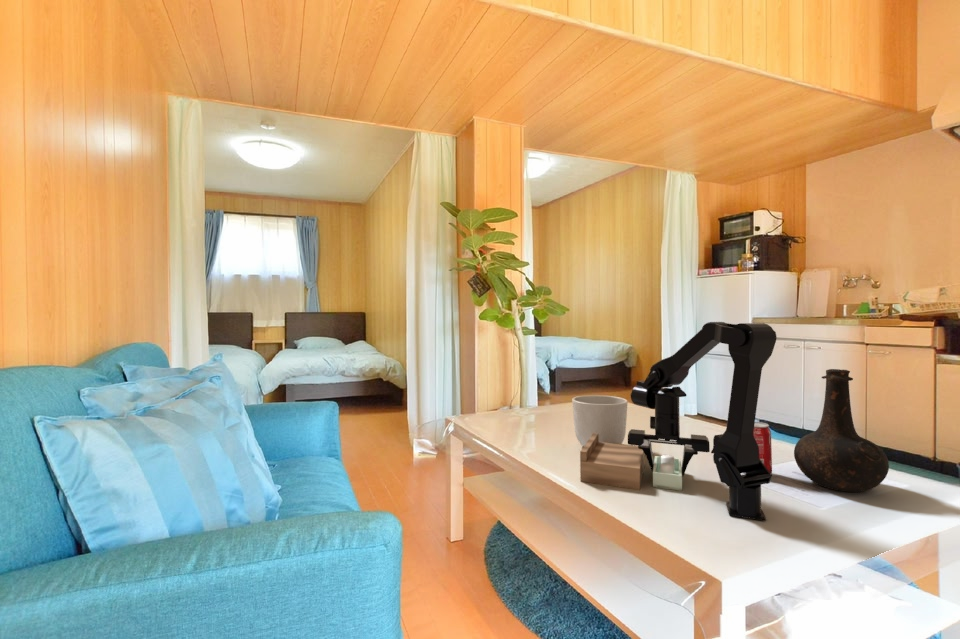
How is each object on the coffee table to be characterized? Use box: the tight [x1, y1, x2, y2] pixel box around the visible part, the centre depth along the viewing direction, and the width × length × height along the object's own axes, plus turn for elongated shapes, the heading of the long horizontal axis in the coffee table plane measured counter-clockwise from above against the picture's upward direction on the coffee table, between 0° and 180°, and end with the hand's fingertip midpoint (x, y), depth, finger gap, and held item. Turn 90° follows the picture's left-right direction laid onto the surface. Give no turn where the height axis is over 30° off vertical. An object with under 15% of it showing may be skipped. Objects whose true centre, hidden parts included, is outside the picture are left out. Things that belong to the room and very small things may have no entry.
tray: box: [652, 454, 683, 492], centre depth 112 cm, size 14×6×5 cm, turn 156°
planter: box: [571, 394, 629, 447], centre depth 140 cm, size 17×17×15 cm
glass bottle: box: [793, 368, 890, 493], centre depth 107 cm, size 18×18×28 cm
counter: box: [579, 433, 646, 490], centre depth 117 cm, size 20×14×8 cm
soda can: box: [744, 421, 773, 474], centre depth 115 cm, size 7×7×13 cm
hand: (667, 474), depth 112 cm, fingers closed on tray, 6 cm apart
